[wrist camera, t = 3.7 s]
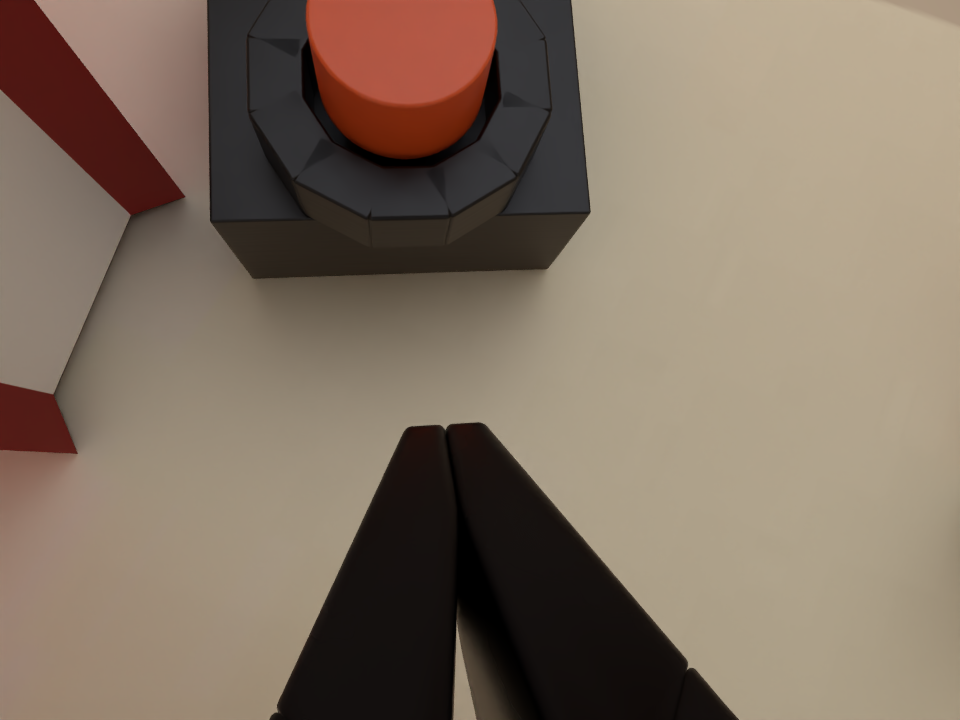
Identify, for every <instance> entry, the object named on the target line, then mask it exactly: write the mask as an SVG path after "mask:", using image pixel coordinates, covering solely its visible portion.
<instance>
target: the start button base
mask: <svg viewBox="0 0 960 720" xmlns="http://www.w3.org/2000/svg"><path fill="white" fill-rule="evenodd" d="M493 1H494V5H495V8H496V14H497V30H498V32H497V39H496V45H495V49H494V53H493V57H492V62H491V66H490V70H489V74H488V79H487V83H486V87H485V91H484V96H483V100H482V104H481V107H480V110H479V113H478V115H477V117H476V119H475V121H474V123H473V124H472V126H471V127H470V129H469V130H468V131H467V132H466V133H465V134H464V136H463V137H461V138H460V139H459V140H458V141H457V142H456V143H454V144H453V145H451V146H450V147H448V148H447V149H445V150H443V151H441V152H439V153H436V154H433V155H430V156H427V157H422V158H417V159H394V158H388V157H383V156H380V155H376V154H373V153H371V152H369V151H367V150H364V149H362V148H361V147H359V146H357V145H356V144H354V143H353V142H351V141H350V140H349V139H348V138H346V137H345V136H344V135H343V134H342V133H341V132H340V131H339V130H338V129H337V128H336V126H335V125H334V124H333V122H332V121H331V120H330V118H329V116H328V114H327V113H326V111H325V108H324V106H323V103H322V100H321V97H320V93H319V88H318V83H317V78H316V73H315V68H314V63H313V58H312V53H311V48H310V43H309V38H308V33H307V27H306V4H307V0H207V21H208V98H209V176H210V221H211V223H212V224H213V226H214V227H215V228H216V230H217V231H218V232H219V234H220V235H221V237H222V238H223V239H224V241H225V242H226V243H227V245H228V246H229V247H230V249H231V250H232V251H233V253H234V254H235V255H236V257H237V258H238V259H239V261H240V262H241V263H242V265H243V266H244V267H245V269H246V270H247V271H248V273H249V274H250V275H251V277H252V278H283V277H313V276H343V275H373V274H403V273H433V272H463V271H493V270H523V269H548V268H549V267H550V265H551V264H552V263H553V261H554V260H555V259H556V257H557V256H558V255H559V253H560V252H561V251H562V250H563V248H564V247H565V246H566V244H567V243H568V242H569V240H570V239H571V238H572V236H573V235H574V234H575V232H576V231H577V230H578V229H579V227H580V226H581V225H582V223H583V222H584V221H585V219H586V218H587V217H588V215H589V214H590V212H591V211H590V200H589V189H588V178H587V167H586V157H585V146H584V135H583V124H582V113H581V102H580V91H579V80H578V69H577V59H576V48H575V37H574V26H573V15H572V4H571V0H493Z"/></svg>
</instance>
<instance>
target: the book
mask: <svg viewBox="0 0 960 720" xmlns="http://www.w3.org/2000/svg"><path fill="white" fill-rule="evenodd" d="M184 197H185V196H184V194H183V193H182V192H181V190H180V189H179V188H178V187H177V185H176V184H175V183H174V181H173V180H172V179H171V177H170V176H169V175H168V174H167V172H166V171H165V170H164V168H163V167H162V166H161V164H160V163H159V162H158V161H157V159H156V158H155V157H154V155H153V154H152V153H151V151H150V150H149V149H148V148H147V146H146V145H145V144H144V142H143V141H142V140H141V138H140V137H139V136H138V135H137V133H136V132H135V131H134V129H133V128H132V127H131V125H130V124H129V123H128V122H127V120H126V119H125V118H124V116H123V115H122V114H121V112H120V111H119V110H118V109H117V107H116V106H115V105H114V103H113V102H112V101H111V99H110V98H109V97H108V96H107V94H106V93H105V92H104V90H103V89H102V88H101V86H100V85H99V84H98V83H97V81H96V80H95V79H94V77H93V76H92V75H91V74H90V72H89V71H88V70H87V68H86V67H85V66H84V64H83V63H82V62H81V61H80V59H79V58H78V57H77V55H76V54H75V53H74V51H73V50H72V49H71V48H70V46H69V45H68V44H67V42H66V41H65V40H64V38H63V37H62V36H61V35H60V33H59V32H58V31H57V29H56V28H55V27H54V25H53V24H52V23H51V22H50V20H49V19H48V18H47V16H46V15H45V14H44V12H43V11H42V10H41V9H40V7H39V6H38V5H37V3H36V2H35V1H34V0H0V450H14V451H34V452H53V453H73V454H78V453H77V451H76V449H75V446H74V444H73V441H72V439H71V436H70V434H69V431H68V429H67V427H66V424H65V422H64V419H63V417H62V414H61V412H60V409H59V407H58V404H57V402H56V400H55V397H54V395H53V394H54V392H55V389H56V387H57V385H58V382H59V380H60V378H61V376H62V373H63V371H64V369H65V366H66V364H67V362H68V359H69V357H70V355H71V352H72V350H73V348H74V345H75V343H76V341H77V339H78V336H79V334H80V332H81V329H82V327H83V325H84V322H85V320H86V318H87V315H88V313H89V311H90V309H91V306H92V304H93V302H94V299H95V297H96V295H97V292H98V290H99V288H100V285H101V283H102V281H103V278H104V276H105V274H106V272H107V269H108V267H109V265H110V262H111V260H112V258H113V255H114V253H115V251H116V248H117V246H118V244H119V242H120V239H121V237H122V235H123V232H124V230H125V228H126V225H127V223H128V221H129V218H130V216H131V215H133V214H136V213H139V212H142V211H145V210H148V209H151V208H154V207H157V206H160V205H163V204H166V203H169V202H172V201H175V200H178V199H181V198H184Z"/></svg>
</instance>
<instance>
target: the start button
mask: <svg viewBox="0 0 960 720" xmlns="http://www.w3.org/2000/svg"><path fill="white" fill-rule="evenodd" d="M306 27H307V33H308V38H309V43H310V48H311V53H312V58H313V63H314V68H315V73H316V78H317V83H318V88H319V93H320V97H321V100H322V103H323V106H324V108H325V111H326V113H327V114H328V116H329V118H330V120H331V121H332V122H333V124H334V125H335V126H336V128H337V129H338V130H339V131H340V132H341V133H342V134H343V135H344V136H345V137H346V138H348V139H349V140H350V141H351V142H353V143H354V144H356V145H357V146H359V147H361V148H362V149H364V150H367V151H369V152H371V153H373V154H376V155H380V156H383V157H388V158H394V159H417V158H422V157H427V156H430V155H433V154H436V153H439V152H441V151H443V150H445V149H447V148H448V147H450V146H451V145H453V144H454V143H456V142H457V141H458V140H459V139H460V138H461V137H463V136H464V134H465V133H466V132H467V131H468V130H469V129H470V127H471V126H472V124H473V123H474V121H475V119H476V117H477V115H478V113H479V110H480V107H481V104H482V100H483V96H484V91H485V87H486V83H487V79H488V74H489V70H490V66H491V62H492V57H493V53H494V49H495V45H496V39H497V32H498V30H497V14H496V8H495V5H494V1H493V0H307V4H306Z"/></svg>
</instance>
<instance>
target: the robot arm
mask: <svg viewBox="0 0 960 720" xmlns="http://www.w3.org/2000/svg"><path fill="white" fill-rule="evenodd" d="M456 622H457V626H458V632H459V638H460V643H461V649H462V654H463V658H464V663H465V668H466V672H467V677H468V682H469V686H470V691H471V695H472V700H473V705H474V709H475V714H476V719H477V720H739V719H738V718H737V717H736V716H735V715H734V714H733V713H732V711H731V710H730V709H729V708H728V707H727V706H726V705H725V704H724V703H723V701H722V700H721V699H720V698H719V697H718V695H717V694H716V693H715V692H714V691H713V690H712V688H711V687H710V686H709V685H708V684H707V682H706V681H705V680H704V679H703V678H702V677H701V675H700V674H699V673H698V672H697V671H696V670H695V669H694V668H689V669H688V670H687V667H688V661H687V660H686V658H685V657H684V656H683V655H682V654H681V652H680V651H679V650H678V649H677V648H676V647H675V645H674V644H673V643H672V642H671V641H670V640H669V638H668V637H667V636H666V635H665V634H664V633H663V631H662V630H661V629H660V628H659V627H658V626H657V624H656V623H655V622H654V621H653V620H652V619H651V617H650V616H649V615H648V614H647V613H646V612H645V610H644V609H643V608H642V607H641V606H640V605H639V603H638V602H637V601H636V600H635V599H634V597H633V596H632V595H631V594H630V593H629V592H628V590H627V589H626V588H625V587H624V586H623V585H622V583H621V582H620V581H619V580H618V579H617V578H616V576H615V575H614V574H613V573H612V572H611V571H610V569H609V568H608V567H607V566H606V565H605V564H604V562H603V561H602V560H601V559H600V558H599V557H598V555H597V554H596V553H595V552H594V551H593V550H592V548H591V547H590V546H589V545H588V544H587V543H586V541H585V540H584V539H583V538H582V537H581V536H580V534H579V533H578V532H577V531H576V530H575V529H574V527H573V526H572V525H571V524H570V523H569V522H568V520H567V519H566V518H565V517H564V516H563V515H562V513H561V512H560V511H559V510H558V509H557V507H556V506H555V505H554V504H553V503H552V502H551V500H550V499H549V498H548V497H547V496H546V495H545V493H544V492H543V491H542V490H541V489H540V488H539V486H538V485H537V484H536V483H535V482H534V481H533V479H532V478H531V477H530V476H529V475H528V474H527V472H526V471H525V470H524V469H523V468H522V467H521V465H520V464H519V463H518V462H517V461H516V460H515V458H514V457H513V456H512V455H511V454H510V453H509V451H508V450H507V449H506V448H505V447H504V446H503V444H502V443H501V442H500V441H499V440H498V439H497V437H496V436H495V435H494V434H493V433H492V432H491V430H490V429H489V428H488V427H487V426H486V425H485V424H483V423H479V422H476V423H460V424H450V425H449V426H447V428H446V430H445V429H444V428H443V427H442V426H441V425H427V426H411V427H408V428H407V429H406V430H405V431H404V432H403V434H402V436H401V439H400V441H399V443H398V445H397V447H396V449H395V452H394V454H393V456H392V458H391V460H390V462H389V464H388V467H387V469H386V471H385V473H384V475H383V477H382V480H381V482H380V484H379V486H378V488H377V490H376V492H375V495H374V497H373V499H372V501H371V503H370V505H369V508H368V510H367V512H366V514H365V516H364V518H363V520H362V523H361V525H360V527H359V529H358V531H357V533H356V536H355V538H354V540H353V542H352V544H351V546H350V548H349V551H348V553H347V555H346V557H345V559H344V561H343V564H342V566H341V568H340V570H339V572H338V574H337V576H336V579H335V581H334V583H333V585H332V587H331V589H330V592H329V594H328V596H327V598H326V600H325V602H324V604H323V607H322V609H321V611H320V613H319V615H318V617H317V620H316V622H315V624H314V626H313V628H312V630H311V633H310V635H309V637H308V639H307V641H306V643H305V645H304V648H303V650H302V652H301V654H300V656H299V658H298V661H297V663H296V665H295V667H294V669H293V671H292V673H291V676H290V678H289V680H288V682H287V684H286V686H285V689H284V691H283V693H282V695H281V697H280V699H279V701H278V704H277V710H278V713H274V714H273V715H272V716H271V718H270V720H453V716H454V687H455V658H456Z"/></svg>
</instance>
